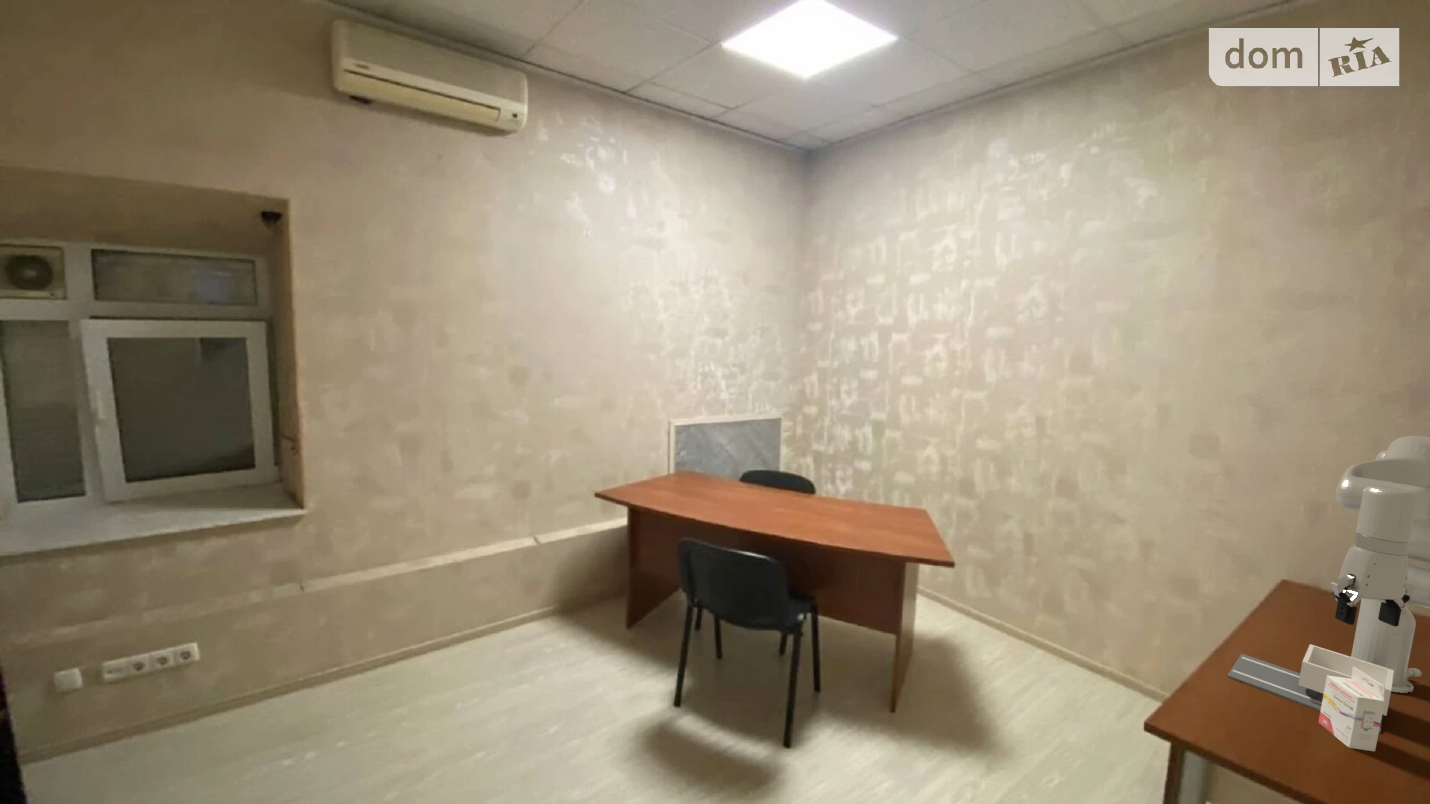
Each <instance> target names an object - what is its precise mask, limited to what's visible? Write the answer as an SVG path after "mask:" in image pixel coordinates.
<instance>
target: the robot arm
mask: <svg viewBox="0 0 1430 804" xmlns="http://www.w3.org/2000/svg"><path fill="white" fill-rule="evenodd" d="M1427 488H1429V489H1430V436H1423V435H1422V436H1421V435H1408V436H1407V435H1406V436H1401V437H1398V438H1396V439H1394V440H1392V442H1391V443H1390V444H1389V445H1388V447H1387V449H1386V450H1382V451H1380V452H1378V454H1376V457H1375V459H1374V460H1369V461H1363V462H1359V463H1356V464H1353V465H1351V466H1350V467H1348V468H1347V469H1346V470H1345V471H1344V472H1343V474H1342V476H1341V478H1340V479H1339V481H1338V483H1337V485H1336V489H1335V494H1334V495H1335V501H1337V503H1338V505H1339V506H1341V507H1342V508H1345V509H1347V510H1351V511H1356V512H1358V518H1357V523H1356V528H1355V529H1356V530H1355V533H1354V534H1355V535H1354V541H1353V545H1352V546H1350V547H1349V549H1348V550H1347V552H1346V554H1345V557H1344V560H1343V562H1342V566H1341V569H1340V573H1339V576H1338V579H1335V580H1333V581H1332V582H1330V586H1331V590H1332V594H1333V596H1334V599H1335V601H1336V602H1337V604H1336V605H1337V606H1336V610H1335V616H1334V618H1335V619H1336V620H1338V621H1341V622H1342V623H1345V624H1347V625H1351V626H1353V625H1355V621H1356V616H1357V610H1358V607H1356V605H1357V603H1359V602H1360V606H1359V612H1358V617H1357V622H1356V628H1355V633H1354V638H1353V645H1352V649H1351V655H1350V657H1353V658H1356V659H1359V660H1363V661H1366V662H1369V663H1372V664H1376V665H1379V666H1382V667H1385V668H1388V669H1392V670H1394V672H1393V681H1392V689H1391V693H1398V692H1399V694H1409V693H1408V692H1410V693H1413V691H1414V685H1413V683H1411V682H1410V680H1408V679H1409V678H1411V677H1421V676H1422V671H1421V670H1420V669H1419V668H1417V667H1416V668H1415V667H1414V668H1413V667H1408V665H1409V662H1410V656H1411V652H1412V646H1413V642H1414V635H1415V630H1416V619H1415V616H1414V614H1413V613H1412V612H1411V610H1410V609H1409V608H1408V607H1407V606H1406V604H1410V605H1415V606H1418V607H1423V608H1426V609H1429V610H1430V568H1427V567H1422V566H1419V565H1415V564H1409V560H1414V561H1419V562H1423V563H1427V564H1430V490H1429V489H1427ZM1408 559H1409V560H1408ZM1349 596H1352V597H1351V598H1350V597H1349Z"/></svg>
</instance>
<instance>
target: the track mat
mask: <svg viewBox="0 0 1430 804" xmlns="http://www.w3.org/2000/svg"><path fill="white" fill-rule="evenodd" d="M1227 676H1228V677H1227ZM1226 677H1227V678H1229V677H1230V678H1229V679H1231V678H1233V679H1232V680H1234V679H1235V680H1234V681H1238V682H1240V681H1241V682H1240V683H1242V682H1243V684H1245V683H1246V685H1248V686H1250V685H1251V686H1252V687H1253V688H1256V689H1259V690H1262V691H1265V692H1266V693H1267V692H1268V693H1269V692H1270V693H1269V694H1272V695H1276V696H1278V697H1280V698H1283V699H1286V698H1287V700H1288V699H1289V700H1288V701H1291V702H1294V703H1296V702H1298V703H1297V704H1299V705H1303V706H1305V707H1307V708H1311V709H1313V710H1316V711H1319V712H1320V711H1321V705H1322V700H1323V695H1324V694H1323V693H1320V697H1319V698H1317V699H1313V698H1310V697H1309V696H1308V695H1307V694H1306V689H1307V688H1306V687H1303V686H1300V685H1298V684H1299V678H1300V672H1297V671H1294V670H1291V669H1288V668H1285V667H1282V666H1279V665H1277V664H1274V663H1270V662H1268V661H1266V660H1262V659H1260V658H1256V657H1253V656H1249V655H1247V654H1244V653H1241V654H1240V655H1239V657H1238V659H1236V661H1235V663H1234V664H1233V666H1232V667H1231V669H1230V670H1229V672H1228V674H1227V675H1226ZM1383 716H1384V715H1382V718H1381V724H1380V728H1379V733H1378V734H1381V732H1382V731H1381V730H1382V725H1383V723H1382V722H1383Z"/></svg>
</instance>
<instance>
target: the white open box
mask: <svg viewBox="0 0 1430 804" xmlns="http://www.w3.org/2000/svg"><path fill="white" fill-rule="evenodd" d="M1352 667H1356V668H1357V669H1359V670H1360V671H1362V672H1364V673H1365V674H1367V675H1368V676H1370V677H1371V678H1373V679H1374V680H1376V681H1377V682H1379V683H1380V684H1382V685H1383V686H1384V687H1385V697H1384V701H1385V703H1384V708H1383V713H1382V715H1383V716H1386V717H1387V714H1388V708H1389V705H1390V704H1389V703H1390V699H1391V693H1392V691H1391V689H1392V681H1393V672H1394V670H1392V669H1388V668H1385V667H1382V666H1379V665H1376V664H1372V663H1369V662H1366V661H1363V660H1359V659H1356V658H1353V657H1351V655H1350V656H1348V655H1347V654H1343V653H1339V652H1336V651H1334V650H1331V649H1326V648H1323V647H1320V646H1317V645H1314V644H1311V643H1310V644H1309V645H1308V648H1307V650H1306V652H1305V655H1304V656H1303V659H1302V662H1301V669H1300V671H1299V673H1300V678H1299V684H1298V685H1300V686H1303V687H1306V688H1307V689H1306V694H1307V695H1308V696H1309V697H1310V698H1313V699H1317V698H1319V697H1320V693H1323V694H1324V689H1325V684H1326V678H1327V675H1328V676H1336V677H1343V678H1350V679H1352ZM1362 679H1363V681H1365V682H1366V683H1368V684H1369V685H1371V686H1372V687H1374V685H1373V684H1372V683H1370V682H1369V680H1368V679H1364V678H1362Z"/></svg>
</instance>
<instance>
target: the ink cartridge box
mask: <svg viewBox="0 0 1430 804" xmlns="http://www.w3.org/2000/svg"><path fill="white" fill-rule="evenodd" d="M1362 678H1364V679H1368V680H1369V682H1370V683H1372V684H1373V685H1374V687H1372V686H1371V685H1369V684H1368V683H1366V682H1365V681H1363V679H1362ZM1384 697H1385V687H1384V686H1383V685H1382V684H1380V683H1379V682H1377V681H1376V680H1374V679H1373V678H1371V677H1370V676H1368V675H1367V674H1365V673H1364V672H1362V671H1360V670H1359V669H1357V668H1356V667H1352V679H1350V678H1343V677H1336V676H1328V675H1327V678H1326V684H1325V689H1324V695H1323V700H1322V705H1321V711H1319V716H1318V724H1319V725H1320V726H1322V727H1323V728H1324V729H1325V730H1326V731H1328V732H1329V733H1330V734H1331V735H1332V736H1334V737H1335V738H1336V739H1338V740H1339V741H1340V742H1342V744H1344V745H1345V746H1346V747H1347V748H1350V749H1355V750H1363V751H1370V752H1376V748H1377V743H1378V738H1379V734H1380V733H1379V728H1380V724H1381V718H1382V719H1383V717H1382V713H1383V708H1384V703H1385V701H1384ZM1381 725H1382V724H1381Z"/></svg>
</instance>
